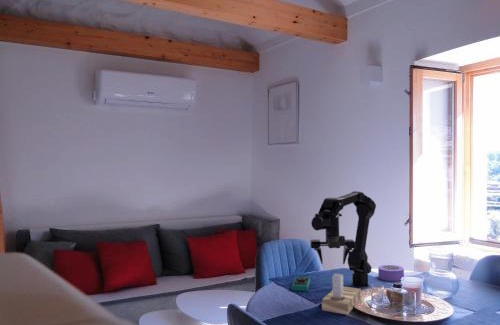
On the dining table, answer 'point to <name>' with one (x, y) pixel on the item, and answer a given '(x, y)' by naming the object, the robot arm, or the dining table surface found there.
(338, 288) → the square bit
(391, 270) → the tape roll
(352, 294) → the socket block
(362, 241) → the robot arm
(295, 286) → the digital multimeter
